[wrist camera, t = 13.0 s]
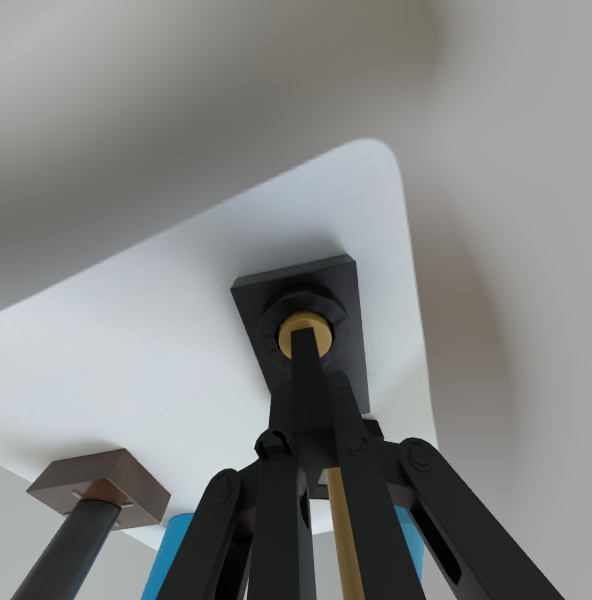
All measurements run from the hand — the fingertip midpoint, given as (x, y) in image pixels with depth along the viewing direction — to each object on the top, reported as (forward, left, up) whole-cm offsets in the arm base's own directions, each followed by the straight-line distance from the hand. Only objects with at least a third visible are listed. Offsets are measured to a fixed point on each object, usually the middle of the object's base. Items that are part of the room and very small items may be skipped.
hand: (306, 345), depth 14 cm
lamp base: (+4, 0, -5) cm, 6 cm away
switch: (0, 0, -2) cm, 2 cm away
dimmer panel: (+20, -30, -5) cm, 36 cm away
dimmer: (+20, -30, -2) cm, 36 cm away
